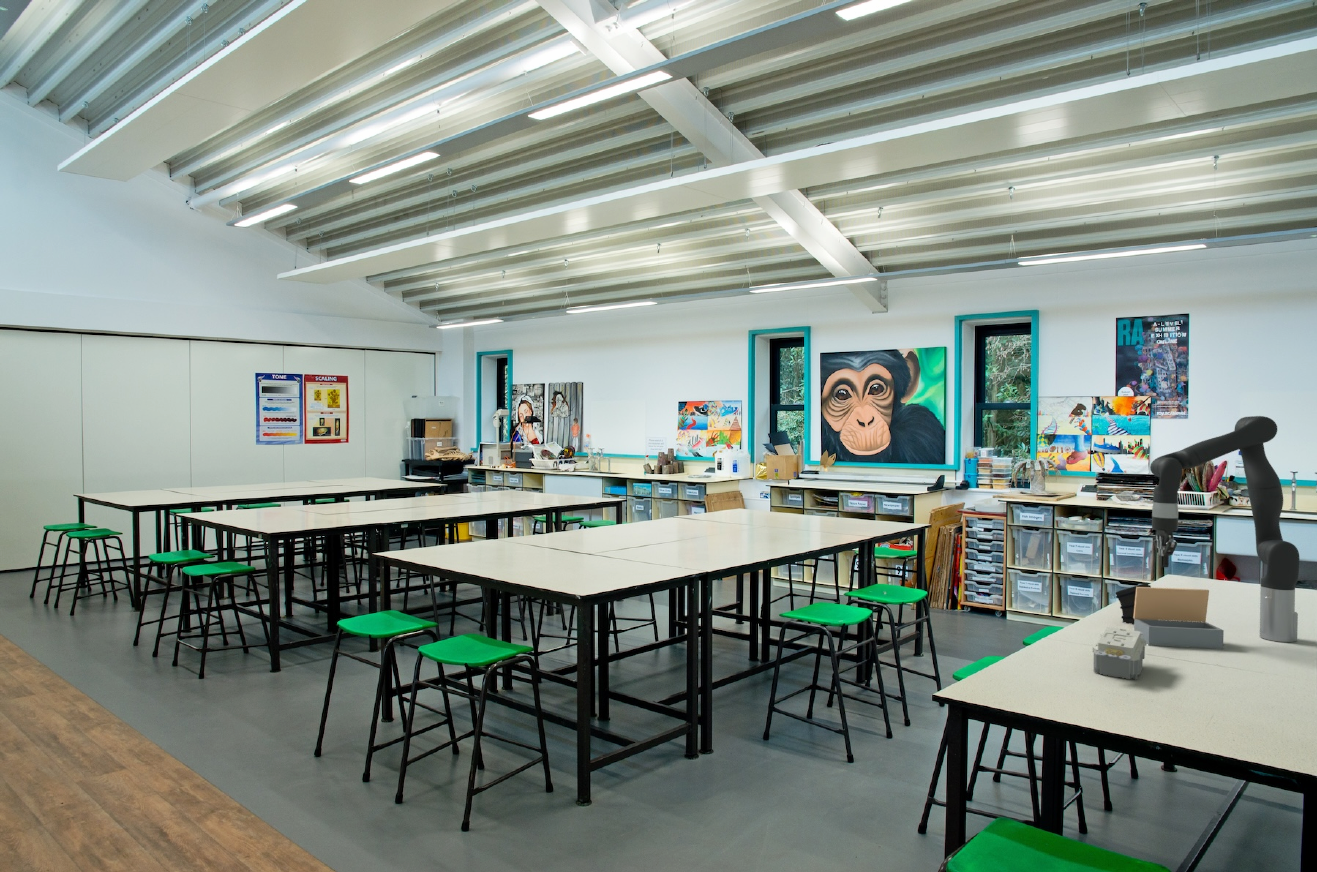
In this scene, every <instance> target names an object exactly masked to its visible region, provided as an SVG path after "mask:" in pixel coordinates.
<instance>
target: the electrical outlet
mask: <svg viewBox="0 0 1317 872" xmlns="http://www.w3.org/2000/svg"><path fill="white" fill-rule="evenodd" d="M1141 635H1142V632H1140V631H1134V629H1127V628H1120V627H1119V628H1118V627H1111V626H1107V627H1106V629H1105V630H1104V632H1103V633H1102V634H1100V637H1099V639H1098V640H1097V642H1096V644H1095V645H1094V647H1092V653H1093V673H1097V674H1099V673H1100V674H1099V675H1101V674H1103V676H1107V675H1108V677H1114V678H1118V677H1122V678H1121V679H1124V678H1126V680H1136V679H1137V680H1138V679H1139V678H1138V677H1139V675H1141V672H1142V670H1143V660H1144V659H1145V658H1146V657H1145V654H1146V653H1145V652H1146V651H1145V650H1146V649H1145V648H1146V646H1147V644H1146V641H1145V639H1142V638H1141ZM1131 678H1133V679H1131Z"/></svg>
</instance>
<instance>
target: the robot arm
mask: <svg viewBox="0 0 1317 872" xmlns="http://www.w3.org/2000/svg"><path fill="white" fill-rule="evenodd" d="M1277 433H1278V425H1277V423H1276V422H1275V420H1273V419H1272V418H1270V417H1267V416H1264V415H1263V416H1262V415H1255V416H1244V417H1241V418H1239V419H1238V420H1237V421H1236V423H1235V426H1234V430H1233V431H1231V432H1228V433H1225V434H1222V435H1218V436H1215V437H1212V438H1209V439H1204V440H1202V441H1199V442H1196V443H1194V444H1192V445H1190V446H1187V447H1184V448H1183V449H1181V450H1178V451H1174V452H1171V453H1167V454H1164V455H1161V456H1159V457H1157V458H1155V459H1153V460H1152V462H1151V463H1150V466H1149V469H1150V472H1151V473H1152V475H1154V476H1155V477H1157V478H1159V481H1158V485H1156V486H1154V487H1153V499H1152V500H1153V503H1152V511H1151V512H1152V513H1151V528H1152V530H1155V531H1156V533H1155V534H1156V535H1155V536H1154V537H1152V542H1153V545H1154V548H1155V551H1156V553H1157V554H1158V556H1159V566H1160V567H1161V568H1168V567H1169V563H1170V562H1169V557H1170V556H1173V554H1174V552H1175V550H1176V547H1177V546H1178V542H1177V541H1174V532H1177V531H1178V530H1179V505H1178V499H1179V498H1178V497H1179V493H1178V492H1179V488H1180V485H1181V481H1182V478H1183V471H1184V470H1186V469H1193V468H1197V467H1199V466H1201V465H1203V464H1207V463H1208V462H1210V461H1213V460H1215V459H1217V458H1220V457H1222V456H1225V455H1228V454H1230V453H1232V452H1235V451H1239V452H1240V456H1241V459H1242V464H1243V470H1244V474H1245V480H1246V487H1247V492H1248V499H1249V502H1250V508H1251V514H1252V519H1253V522H1254V533H1255V549H1256V555H1257V557H1258V559H1259V560H1260V561H1261V562H1262V563H1264V565H1265V564H1266V565H1267V567H1266V574H1265V575H1264V576H1262V577H1261V578H1260V589H1259V591H1260V592H1259V593H1260V595H1259V596H1260V597H1259V600H1260V604H1259V606H1260V607H1259V638H1261V639H1265V640H1268V641H1272V642H1273V641H1274V642H1281V643H1283V642H1284V643H1292V642H1298V626H1299V625H1298V623H1299V620H1298V618H1299V614H1298V612H1296V611H1295V610H1296V609H1295V608H1296V585H1297V583H1298V580H1299V575H1300V574H1299V572H1300V561H1301V559H1300V553H1299V550H1298V547H1297V546H1296V545H1295V544H1293V543H1292V542H1290V541H1286V540H1284V539H1283V536H1282V532H1281V526H1280V520H1281V519H1280V517H1281V515H1282V514H1281V513H1282V511H1283V507H1284V494H1283V489H1282V488H1283V487H1282V483H1281V480H1280V477H1279V476H1278V474H1277V472H1276V470H1275V469H1274V468H1273V466H1272V465H1271V463H1270V461H1269V460H1268V457H1267V455H1266V451H1265V446H1264V444H1265V443H1268V442H1271V441H1272V440H1273V439H1274V438H1275V437H1276V435H1277Z"/></svg>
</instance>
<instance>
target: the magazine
mask: <svg viewBox="0 0 1317 872" xmlns="http://www.w3.org/2000/svg"><path fill="white" fill-rule="evenodd" d="M1136 587H1152V585H1150V584H1149V583H1148V582H1144V583H1142V584H1138V585H1135V586H1131V587H1128V588H1125V589H1122V590H1117V591H1115V595H1116V596H1115V599H1118V601H1119V603H1120V606H1119V608H1120V610H1121V611H1122V613H1121V614H1122V615H1121V619H1122V623H1123V622H1126V623H1125V624H1129V623H1132V624H1131V625H1134V618H1133V616H1134V606H1135V595H1136ZM1147 620H1150V619H1147Z"/></svg>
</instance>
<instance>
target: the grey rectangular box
mask: <svg viewBox="0 0 1317 872" xmlns="http://www.w3.org/2000/svg"><path fill="white" fill-rule="evenodd" d="M1133 626H1134V629H1133V630H1134V631H1140V632H1142V635H1141V638H1142V639H1145V641H1146V645H1147V644H1148V646H1153V645H1154V647H1155V646H1156V647H1160V646H1161V647H1175V648H1176V647H1177V648H1178V647H1179V648H1194V649H1195V648H1198V649H1199V648H1200V649H1215V650H1216V649H1217V650H1219V649H1221V650H1224V636H1225V635H1224V631H1225V630H1224V629H1222V628H1220V627H1217V626H1215V625H1213V624H1211V623H1209V622H1208V621H1206V622H1195V621H1172V620H1147V619H1134V624H1133Z"/></svg>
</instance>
